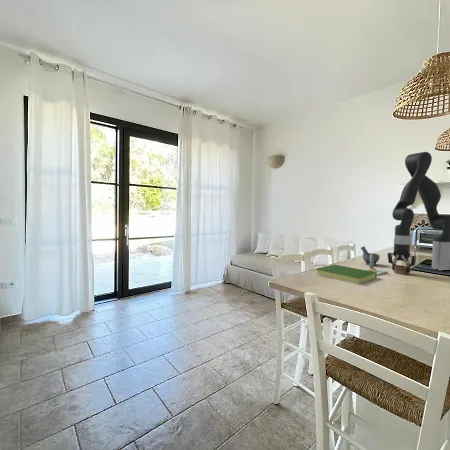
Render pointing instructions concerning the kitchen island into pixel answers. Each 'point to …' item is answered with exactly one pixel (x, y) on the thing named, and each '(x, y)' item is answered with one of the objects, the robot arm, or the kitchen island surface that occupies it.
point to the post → (379, 272)
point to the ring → (400, 269)
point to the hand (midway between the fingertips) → (400, 271)
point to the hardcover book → (347, 273)
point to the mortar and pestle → (367, 256)
